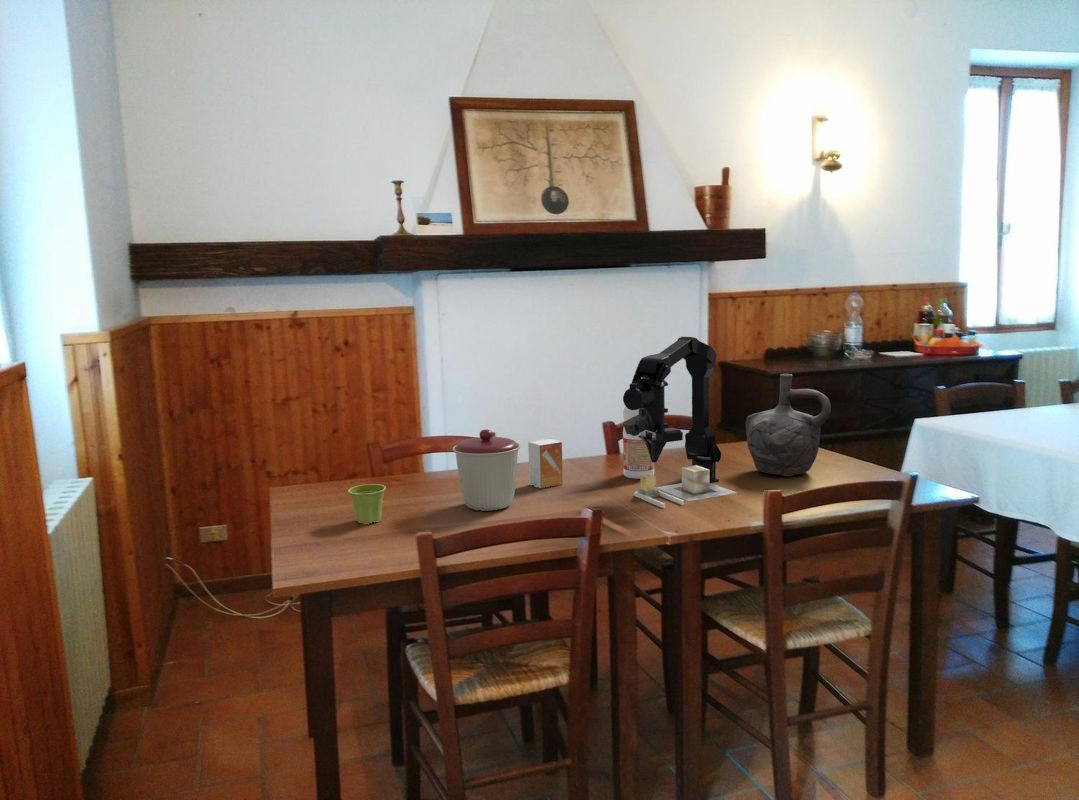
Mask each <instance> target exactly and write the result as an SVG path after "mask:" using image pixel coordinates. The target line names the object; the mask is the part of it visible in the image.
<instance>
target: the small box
mask: <svg viewBox="0 0 1079 800" xmlns="http://www.w3.org/2000/svg"><path fill="white" fill-rule="evenodd" d="M527 445H528V447H527V448H528V480H529V481H528V482H529V486H532V485H534V486H536V487H535V488H537V487H539V488H538V489H540V488H541V489H545V487H546V488H551V487H556V485H557V486H562V485H563V484H564V482H563V474H564V473H563V442H562V441H560V440H558V439H553V438H548V439H547V438H546V439H540V440H536V441H535V440H534V441H529V442H528V443H527ZM561 484H562V485H561ZM534 486H533V487H534ZM550 486H551V487H550Z"/></svg>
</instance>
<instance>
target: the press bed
mask: <svg viewBox="0 0 1079 800" xmlns="http://www.w3.org/2000/svg"><path fill="white" fill-rule="evenodd" d="M656 489H657V490H659V491H662V492H664V493H667V494H669V495H671V496H674V497H676V498H679V499H681V500H684V501H686V502H692V501H699V500H705V499H710V498H716V497H722V496H728V495H733V496H735V497H737V496H738V492H737V491H734V490H731V489H728V488H725V487H723V486H720V485H717V484H715V483H712V482H710V485H709V491H705V492H699V493H692V492H690V491H687V490H685V489H682V482H679V483H674V484H669V485H662V486H656Z"/></svg>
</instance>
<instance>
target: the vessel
mask: <svg viewBox="0 0 1079 800" xmlns="http://www.w3.org/2000/svg"><path fill="white" fill-rule="evenodd" d="M792 379H793V374H792V373H782V374H779V394H778V395H779V398H778V404H777V406H775V408H772V409H769V410H764V411H760V412H756V413H753V414H749V415H748V416H747V417H746V420H745V432H746V433H745V434H746V445H747V448H748V450H749V454H750V456H751V458H752V461H753V464H754V467H755V469H756V470H758V471H759V472H761V473H765V474H770V475H776V476H778V475H779V476H782V477H783V476H784V477H791V476H795V474H796V475H800V474H805V473H807V472H809V471H810V470H811V469H812V467H813V465H814V463H815V461H816V458H817V455H818V453H819V447H820V440H821V430H822V429H821V427H822V425H823V424H825V422H826V421H827V420H828V419H829V417H830V415H831V413H832V412H831V411H832V406H831V402H830V399H829V398H828V396H826V395H825V394H824V393H822V392H820V391H818V390H817V389H812V388H811V389H810V388H798V389H793V388H792ZM799 398H801V399H802V398H808V399H809V398H810V399H815V400H817V401H818V402H819V403H820V405H821V411H820V413H819V414H818V415H816V416H815V415H814V416H813V415H810V414H809V413H804V412H802V411H798V410H794V409H793V408H792V406H791V401H792V400H794V399H799Z"/></svg>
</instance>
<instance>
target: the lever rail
mask: <svg viewBox="0 0 1079 800" xmlns="http://www.w3.org/2000/svg"><path fill="white" fill-rule="evenodd" d="M656 490H658V491H659V496H658V497H661V498H664V499H667V500H668V501H671V502H672V503H676V504H679V505H681V506H684V505H685V500H683V499H681V498H679V497H676V496H674V495H671V494H669V493H666V492H664V491H661V490H659V489H656ZM634 497H636V498H638V499H642V500H643V501H644V502H645V501H646V502H648V503H650V504H652V505H654V506H657V507H659V508H662V509H666V503H665V502H662V501H659V500H657V499H655V498H654V497H648V496H646V495H643V494H641V493H639V492H637V491H634Z"/></svg>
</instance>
